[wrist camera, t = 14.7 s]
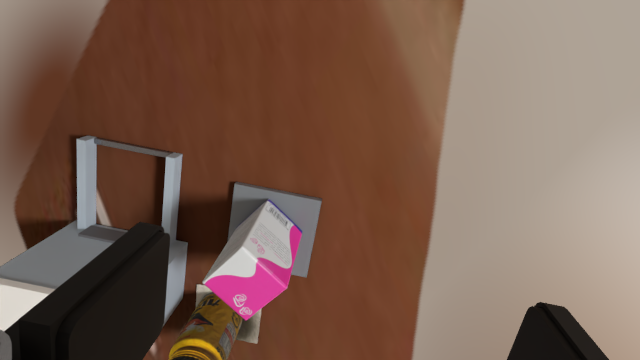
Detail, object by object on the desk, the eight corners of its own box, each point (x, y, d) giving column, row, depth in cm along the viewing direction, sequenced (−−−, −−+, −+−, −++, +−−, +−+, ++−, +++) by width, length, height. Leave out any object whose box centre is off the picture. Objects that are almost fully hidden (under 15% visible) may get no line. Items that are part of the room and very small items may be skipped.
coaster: (236, 181, 46) (234, 183, 45) (322, 198, 46) (321, 201, 45) (227, 257, 49) (225, 261, 49) (307, 273, 49) (306, 277, 48)
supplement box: (234, 229, 47) (199, 282, 36) (268, 197, 46) (243, 242, 35) (269, 262, 48) (245, 323, 37) (304, 232, 47) (290, 287, 36)
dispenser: (73, 132, 46) (-38, 165, 33) (197, 157, 46) (134, 199, 33) (75, 277, 52) (-19, 353, 39) (184, 299, 52) (127, 383, 39)
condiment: (197, 283, 51) (152, 350, 39) (263, 294, 51) (237, 365, 39) (194, 331, 53) (151, 407, 42) (257, 341, 53) (232, 421, 42)
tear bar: (97, 137, 46) (94, 138, 45) (172, 152, 46) (170, 153, 45) (97, 142, 46) (94, 143, 45) (172, 157, 46) (170, 158, 45)
